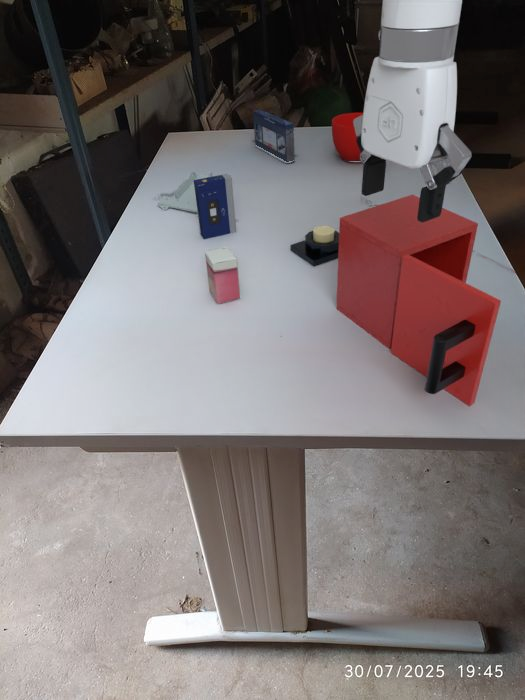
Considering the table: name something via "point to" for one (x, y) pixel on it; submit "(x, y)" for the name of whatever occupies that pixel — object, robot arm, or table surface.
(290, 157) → the vhs cassette tape
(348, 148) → the ceramic cup
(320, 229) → the yellow button cap
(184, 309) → the table surface
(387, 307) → the cabinet
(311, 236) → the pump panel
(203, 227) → the cassette player
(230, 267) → the small box
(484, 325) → the door
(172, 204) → the metal bracket
